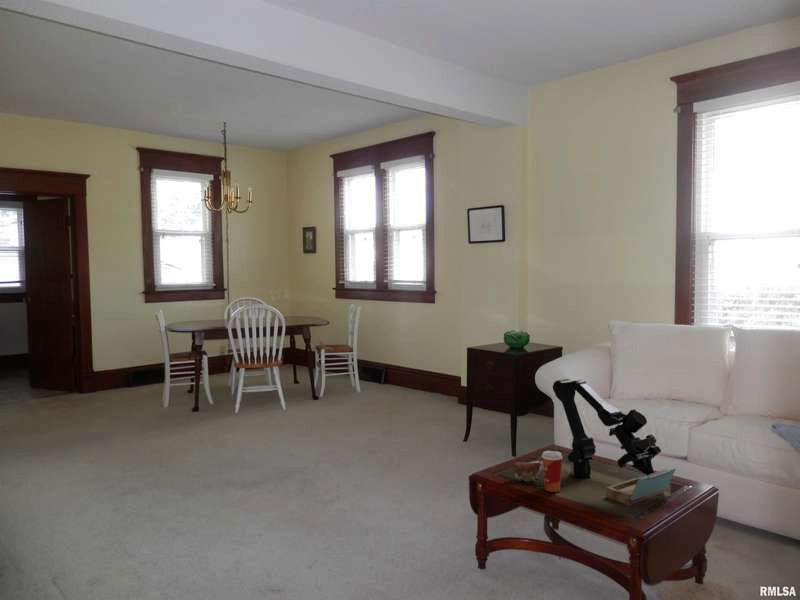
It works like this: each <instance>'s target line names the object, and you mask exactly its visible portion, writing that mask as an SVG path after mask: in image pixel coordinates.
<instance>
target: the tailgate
mask: <svg viewBox="0 0 800 600" xmlns="http://www.w3.org/2000/svg"><path fill="white" fill-rule="evenodd" d="M676 469H677V468H676V467H674V466H672V467H668V468H665V469H662V470H660V471H656V472H654V473H653V474H649V475H646V474H645V475H644V476H641V477H640V476H639V477H640V478H639V479H638V481H637V484H636V486H635V488H634V491H633V493H632V495H631V498H630V499H631V500H635V499H638V498H641V497H644V496H647V495H649V494H652V493H655V492H658V491H661V490H664V491H665V490H667V489H668V487H669V485H670V483H671V481H672V479H673V475H674V474H675V471H676Z"/></svg>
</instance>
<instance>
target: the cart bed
mask: <svg viewBox="0 0 800 600" xmlns="http://www.w3.org/2000/svg"><path fill="white" fill-rule="evenodd" d="M640 477H642V476H641V475H640V476H638V477H635V478H632V479H628V480H626V481H622V482H619V483H615V484H612V485H609V486H607V487H606V488H605V489H606V496H605V497H606V498H609V499H611V500H614V501H616V502H620V503H623V504H625V505H628V506H631V505H634V504H637V503H640V502H642V501H646V500H648V499H651V498H654V497H656V496H659V495H663V494H665V489H664V490H661V491H658V492H655V493H652V494H649V495H647V496H644V497H641V498H638V499H635V500H631V499H630V498H631V495H632V493H633V491H634V488H635V486H636V484H637V481H638V479H639V478H640Z"/></svg>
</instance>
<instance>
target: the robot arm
mask: <svg viewBox="0 0 800 600" xmlns="http://www.w3.org/2000/svg"><path fill="white" fill-rule="evenodd" d="M552 391H553V392H554V395H555V396H556V398H557V399H558V400H559V401H560V402H561V404H562V406H563V410H564V413H565V415H566V419H567V422H568V424H569V428H570V432H571V435H572V437H573V438H572V442H571V448H572V451H570V452H569V454H568V455H567V460H568V462H571V471H570V472H569V473H570V475H571V476H572V477H573V478H574V479H591V471H592V470H591V464H590V461H592V460H593V458H594V456H595V454H596V448H597V447H596V445H595V442H594V439H593V437H589V436H588V435H587V434H586V431H585V429H584V426H583V422H582V419H581V417H580V414H579V411H578V407H577V404H576V401H575V397H576V393H578V394H579V396H581V397H582V398H583V399H584V401H586V402H587V403H588V405H590V406H591V407H592V408H593V409H594V411H596V412H597V417H598V419H599V420H600V422H601V423H602V424H603V425H604V426H605V427H611V428H609V433H608V435H609V437H613V436H615V437H616V439H617V440H618V442H619V443H620V447H619V448H620V449H621V450H625V452H626V453H624V454H623V455H622V456H621V457H619V458H618V460H617V463H616V464H617V466H618V467H619V468H620V469H624V468H626V467H627V464H628V463H631V462H632V465H631V468H634V469H635V470H638V471H640V472H641V473H643V474H645V476H646V475H649V474H653V473H655V471H654V468H653V465H652V459H654V458H655V457H656V456H657V455H659V454H660V453H661V452H662V449H661V448H660V446H658V445H656V443H657V439H656V437H655V436H654V435H653V434H652V433H651V434H648V435H646V436H645V438H644V439H641V438H640V437H639V436H637V437H636V436H635V435H634V434H637V432H639V430H641V429H642V428H643V427H644V426H646V425H647V424H648V422H647V421H648V420H647V418H646V417H645V415H643V414H642V413H641V412H639V411H637V410H636V409H630V411H628V413H627V414H626V413H623V412H622V411H621V410H620V409H618V408H617V407H616V406H614V405H611V404H610V403H608V402H607V401H605V400H604V399H603V398H602V397H601V396H600V395H599V394H598V393H596V391H595V390H594V389H593V388H592V387H591V386H590V385H588V383H587V381H586V380H584V379H579V380H571V379H569V378H565V379H558V380H555V381H554V382H553V385H552ZM621 423H622V424H621ZM612 426H614V427H612Z"/></svg>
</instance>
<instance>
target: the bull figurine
mask: <svg viewBox="0 0 800 600" xmlns="http://www.w3.org/2000/svg"><path fill="white" fill-rule="evenodd" d="M512 470H513V472H514V477H515V476H516V477H517V478H519V479H520V478H522V479H523V476H522V473H523V474H524V475H525V476H527V475H528V474H531V475H532V479H535V477H537V478H538V475H539V474H540V473H541V472H542V471H543V460H541V461H539V460H535V461H529V462H523V461H522V462H521V461H515V462H513V463H512ZM517 478H516V479H517ZM535 480H536V479H535Z"/></svg>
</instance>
